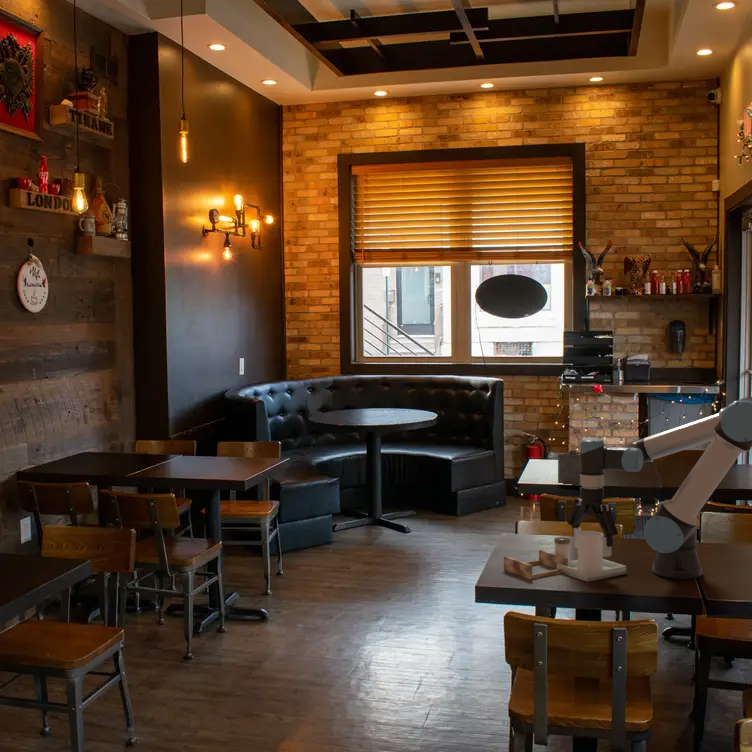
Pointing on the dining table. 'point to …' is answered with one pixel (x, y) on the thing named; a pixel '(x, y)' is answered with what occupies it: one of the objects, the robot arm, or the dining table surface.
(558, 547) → the salt jar
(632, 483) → the dining table surface
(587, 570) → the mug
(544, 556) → the oak caddy
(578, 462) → the flask
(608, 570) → the tray
